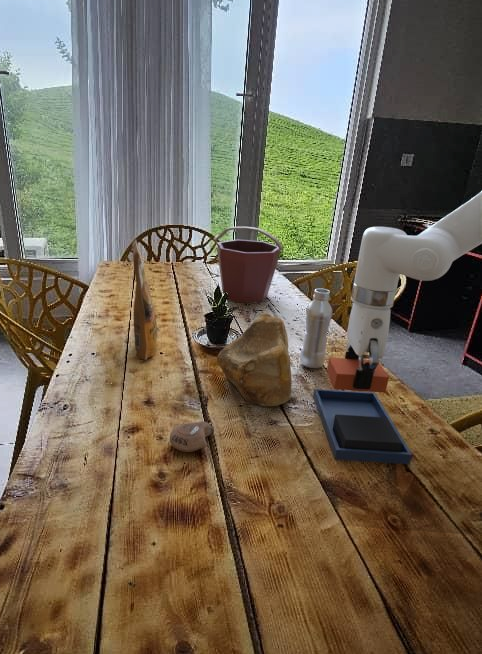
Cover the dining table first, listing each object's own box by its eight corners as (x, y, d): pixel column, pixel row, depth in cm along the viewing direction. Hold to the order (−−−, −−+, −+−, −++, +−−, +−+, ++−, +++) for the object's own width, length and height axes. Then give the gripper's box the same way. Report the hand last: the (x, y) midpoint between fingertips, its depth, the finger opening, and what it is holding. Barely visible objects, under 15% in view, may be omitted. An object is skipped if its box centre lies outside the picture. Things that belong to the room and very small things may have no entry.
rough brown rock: (219, 362, 115) (217, 308, 109) (284, 362, 113) (286, 307, 107) (214, 415, 94) (211, 352, 88) (293, 416, 92) (296, 351, 86)
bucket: (200, 295, 163) (203, 226, 154) (231, 282, 180) (236, 219, 171) (259, 310, 150) (266, 236, 141) (287, 295, 167) (295, 228, 158)
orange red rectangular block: (374, 375, 93) (377, 360, 92) (385, 392, 86) (389, 377, 85) (326, 372, 93) (329, 357, 92) (333, 389, 87) (336, 373, 85)
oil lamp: (219, 459, 80) (210, 432, 87) (223, 440, 78) (214, 415, 85) (170, 457, 78) (165, 430, 85) (173, 438, 76) (168, 412, 83)
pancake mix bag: (127, 363, 111) (124, 252, 100) (135, 333, 128) (133, 236, 118) (154, 363, 111) (154, 253, 101) (158, 333, 129) (158, 237, 118)
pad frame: (372, 402, 98) (374, 392, 97) (409, 466, 78) (412, 454, 78) (312, 398, 99) (314, 388, 98) (334, 461, 79) (336, 449, 78)
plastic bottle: (299, 369, 111) (309, 293, 104) (298, 358, 117) (307, 285, 110) (325, 372, 110) (337, 296, 103) (323, 360, 116) (334, 287, 109)
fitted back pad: (383, 432, 87) (387, 417, 85) (398, 459, 79) (402, 443, 78) (332, 429, 87) (335, 414, 86) (342, 455, 80) (345, 439, 78)
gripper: (411, 312, 75) (389, 403, 81) (378, 282, 91) (362, 360, 97) (366, 309, 75) (348, 400, 82) (341, 280, 91) (327, 357, 98)
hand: (355, 377), depth 89 cm, fingers closed on orange red rectangular block, 7 cm apart
